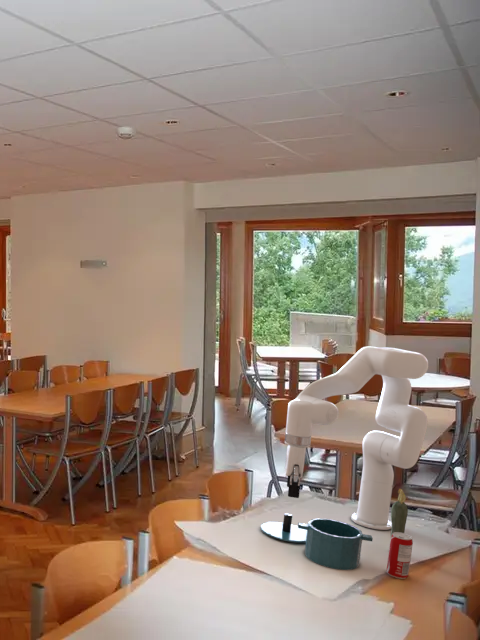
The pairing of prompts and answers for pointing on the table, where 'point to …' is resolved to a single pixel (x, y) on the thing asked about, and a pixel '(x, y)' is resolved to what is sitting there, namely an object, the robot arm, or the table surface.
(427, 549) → the table surface
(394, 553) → the soda can
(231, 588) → the table surface
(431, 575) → the table surface
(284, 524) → the lid
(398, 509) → the vegetable
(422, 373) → the robot arm
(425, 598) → the table surface
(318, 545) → the pot
